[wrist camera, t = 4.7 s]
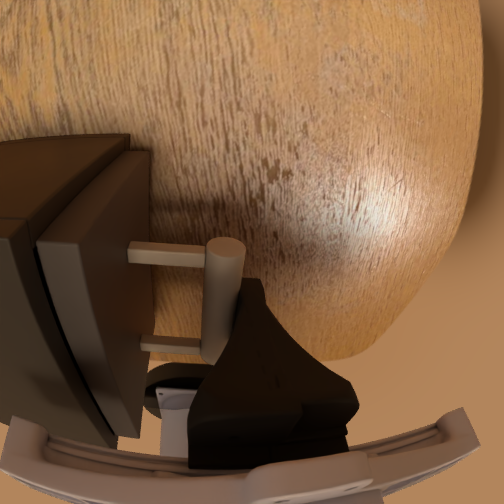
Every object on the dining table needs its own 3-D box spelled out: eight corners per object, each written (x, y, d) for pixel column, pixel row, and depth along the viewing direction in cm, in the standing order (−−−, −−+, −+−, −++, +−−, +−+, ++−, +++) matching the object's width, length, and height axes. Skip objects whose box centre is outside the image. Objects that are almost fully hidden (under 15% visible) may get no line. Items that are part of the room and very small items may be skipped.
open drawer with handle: (245, 157, 13) (277, 257, 6) (223, 326, 18) (230, 444, 12) (-48, 162, 10) (-133, 228, 3) (-10, 298, 15) (-54, 379, 9)
